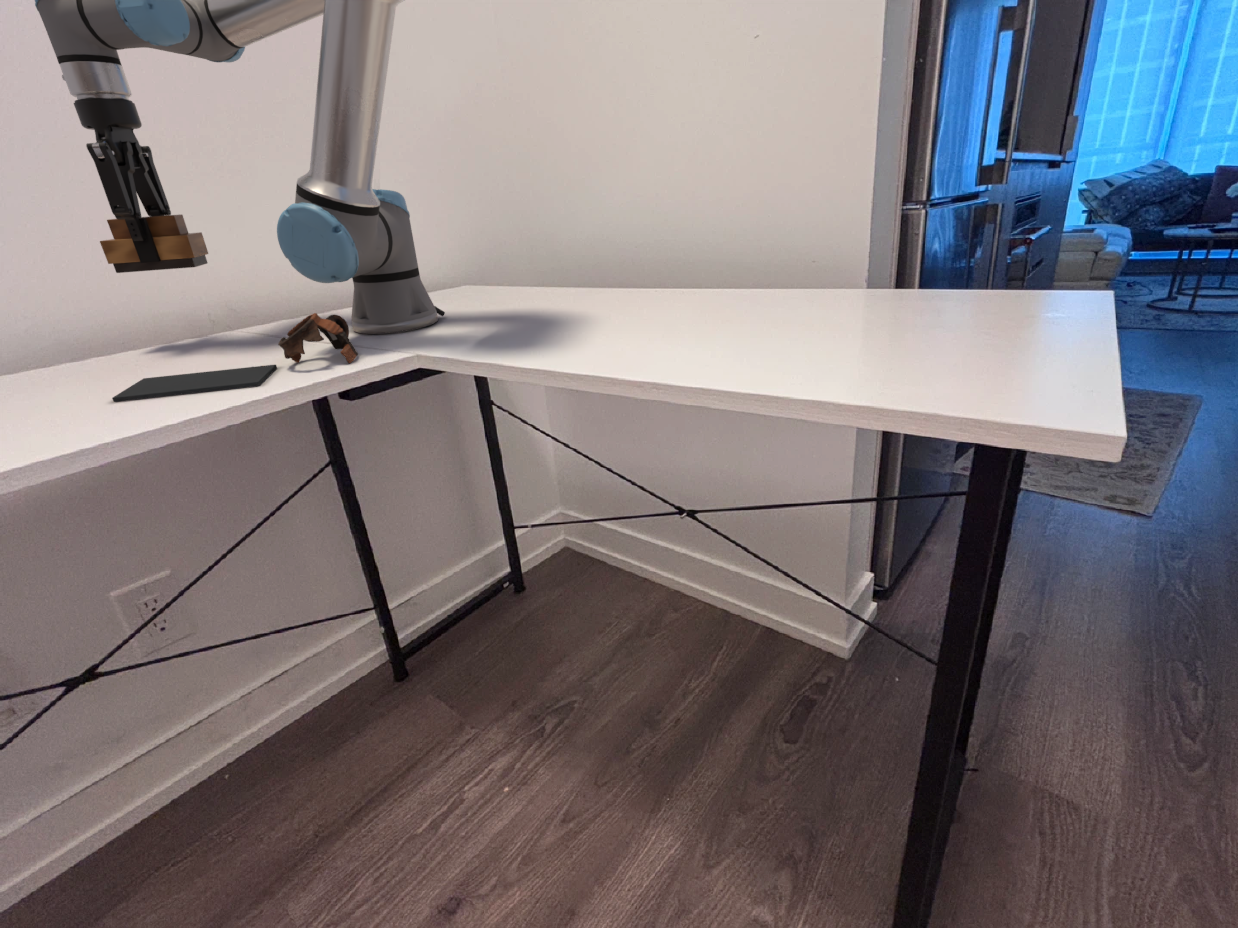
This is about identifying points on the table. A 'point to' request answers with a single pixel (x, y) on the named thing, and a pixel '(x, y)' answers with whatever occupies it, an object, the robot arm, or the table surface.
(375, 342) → the table surface
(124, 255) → the brush
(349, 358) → the brown black curved piece
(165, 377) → the mat
